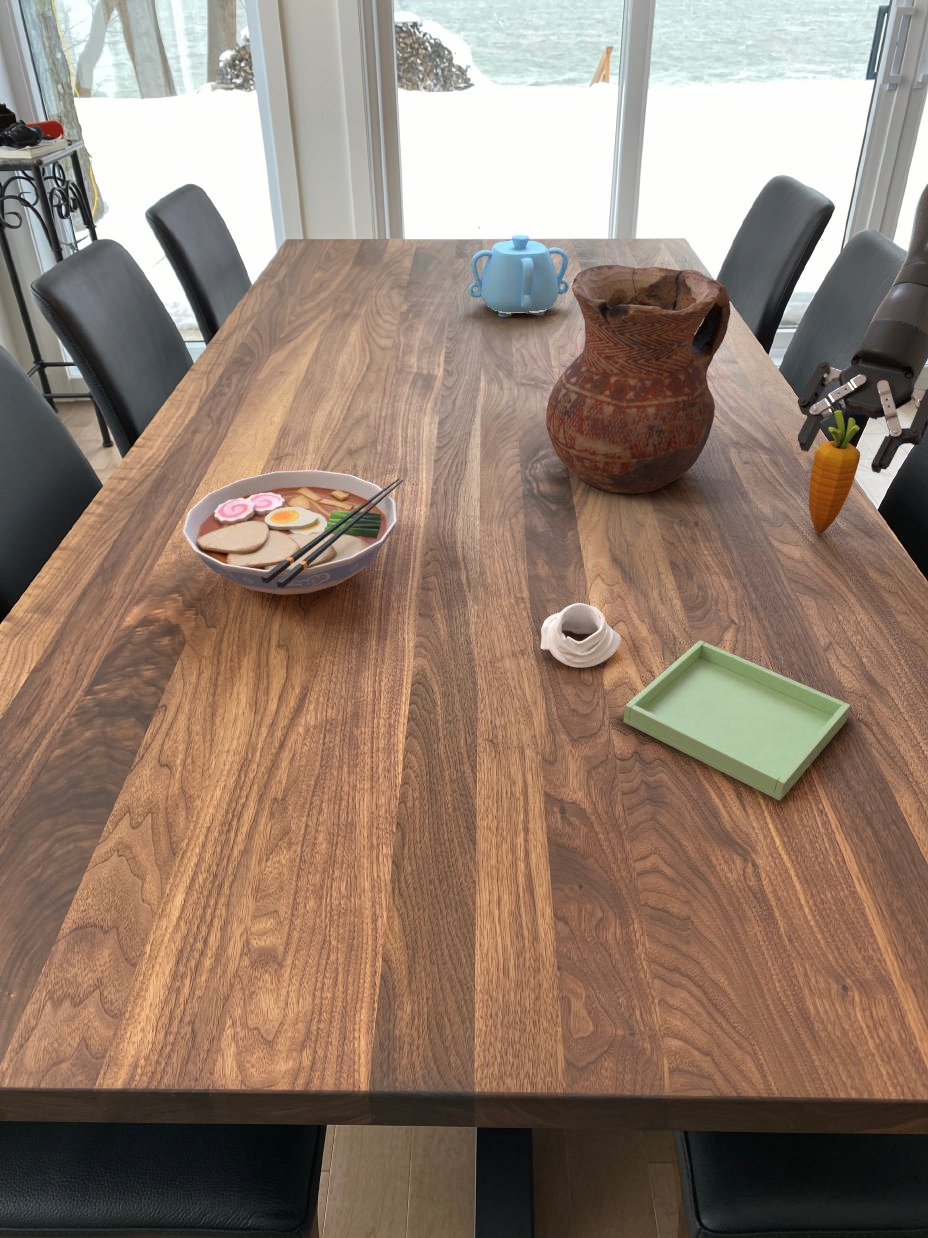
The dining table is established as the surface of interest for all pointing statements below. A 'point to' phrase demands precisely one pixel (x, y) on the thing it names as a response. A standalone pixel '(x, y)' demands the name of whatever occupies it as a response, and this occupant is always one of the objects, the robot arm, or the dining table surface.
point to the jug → (639, 377)
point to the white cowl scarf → (579, 622)
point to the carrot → (832, 474)
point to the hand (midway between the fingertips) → (838, 458)
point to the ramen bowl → (291, 529)
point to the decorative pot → (519, 276)
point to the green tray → (738, 717)
